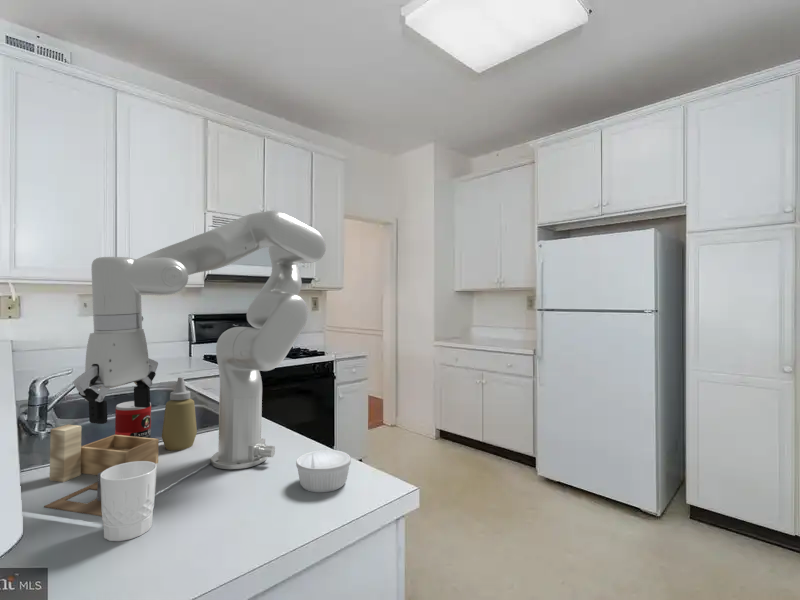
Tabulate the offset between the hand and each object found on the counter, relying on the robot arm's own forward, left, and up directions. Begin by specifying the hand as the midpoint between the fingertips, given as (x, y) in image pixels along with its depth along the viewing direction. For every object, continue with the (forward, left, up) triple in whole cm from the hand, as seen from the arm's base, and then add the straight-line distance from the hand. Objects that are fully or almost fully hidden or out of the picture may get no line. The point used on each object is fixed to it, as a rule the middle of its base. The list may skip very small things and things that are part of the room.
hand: (121, 414), depth 80 cm
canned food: (+21, -25, -17) cm, 37 cm away
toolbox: (+12, -12, -16) cm, 24 cm away
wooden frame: (+3, +1, -16) cm, 17 cm away
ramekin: (-34, -17, -17) cm, 41 cm away
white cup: (-10, +8, -17) cm, 21 cm away
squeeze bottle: (+9, -27, -17) cm, 33 cm away
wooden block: (+19, -5, -16) cm, 25 cm away
